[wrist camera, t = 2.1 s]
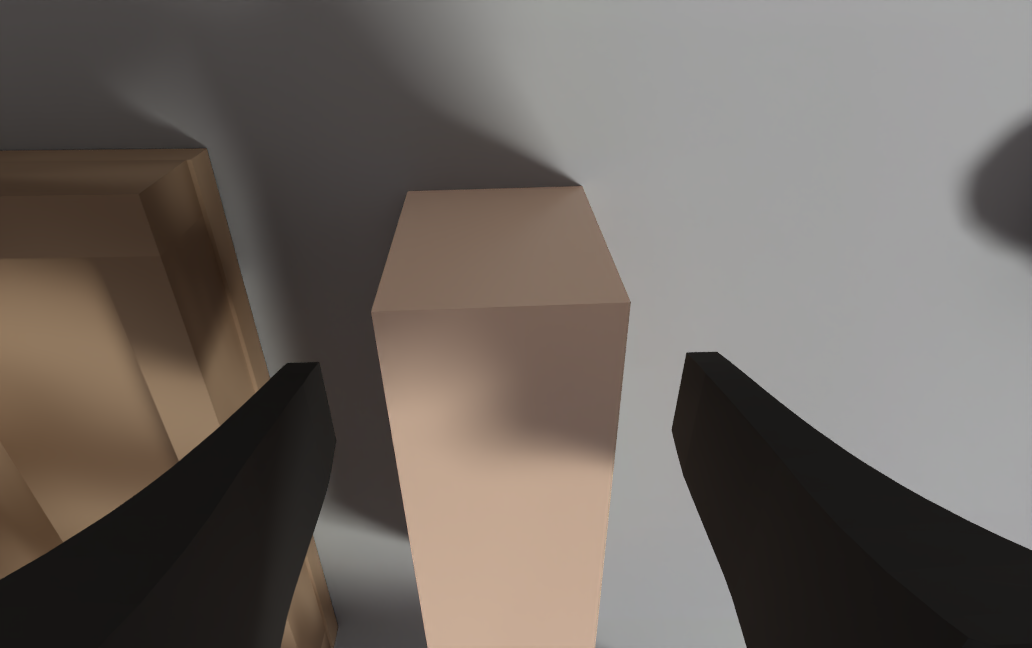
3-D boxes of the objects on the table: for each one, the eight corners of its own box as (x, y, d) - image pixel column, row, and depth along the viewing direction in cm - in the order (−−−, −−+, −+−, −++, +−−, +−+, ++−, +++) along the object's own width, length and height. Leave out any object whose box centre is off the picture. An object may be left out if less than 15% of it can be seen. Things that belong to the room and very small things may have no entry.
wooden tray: (338, 627, 22) (321, 707, 20) (109, 636, 22) (64, 719, 20) (206, 148, 13) (144, 194, 10) (-203, 153, 12) (-363, 201, 10)
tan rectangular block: (564, 544, 21) (588, 715, 16) (450, 549, 21) (440, 723, 16) (580, 183, 14) (630, 302, 9) (408, 188, 14) (371, 311, 9)
